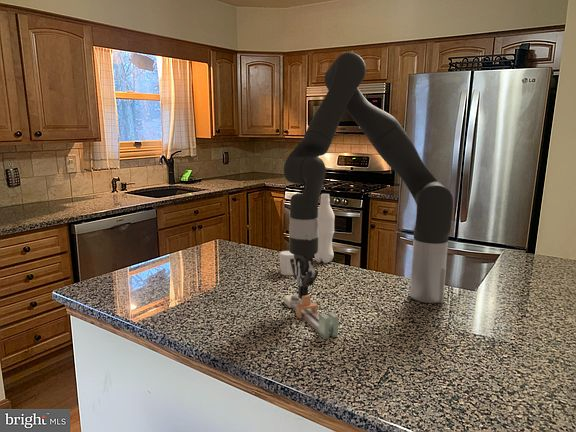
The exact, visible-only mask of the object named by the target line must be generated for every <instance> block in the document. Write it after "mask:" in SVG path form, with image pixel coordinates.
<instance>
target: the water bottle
mask: <svg viewBox="0 0 576 432" xmlns="http://www.w3.org/2000/svg"><path fill="white" fill-rule="evenodd" d="M319 201H320V204H319V205H318V225H319V234H318V252H317V253H316V254H314V255H313V257H314V259H315V260H316V263H320V264H321V262H323V264H328V263H330V262H332V261H333V258H334V254H335V253H334V251H333V249H334V248H333V237H334V234H335V217H336V216H335V212H334V211H333V209H332V206H331V205H330V204H331V203H330V202H331V200H330V193H320V199H319Z"/></svg>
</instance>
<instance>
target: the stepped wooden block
mask: <svg viewBox="0 0 576 432" xmlns="http://www.w3.org/2000/svg"><path fill="white" fill-rule="evenodd" d="M305 309H311V310H312V311H314V312H315V313H316V314H317V315H318V309H319V308H318V304H317V303H315V302H311V295H310V294H308V295H303V296H302V305H296V311H295V316H296V317H297V318H298V319H299V320H300V319H302V316H301V310H305Z"/></svg>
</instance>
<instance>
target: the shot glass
mask: <svg viewBox="0 0 576 432" xmlns="http://www.w3.org/2000/svg"><path fill="white" fill-rule="evenodd" d="M278 255H279V257H278V258H279V266H280V268H279V269H280V274H281V275H283V276H294V275H293V271H292V267H291V263H290V259H293V258H294V254H292V253H290V251H289V249H288V250H282V251H280V252H278Z"/></svg>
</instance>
